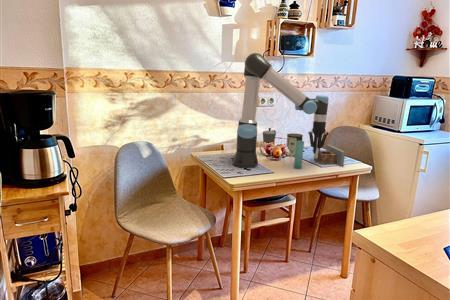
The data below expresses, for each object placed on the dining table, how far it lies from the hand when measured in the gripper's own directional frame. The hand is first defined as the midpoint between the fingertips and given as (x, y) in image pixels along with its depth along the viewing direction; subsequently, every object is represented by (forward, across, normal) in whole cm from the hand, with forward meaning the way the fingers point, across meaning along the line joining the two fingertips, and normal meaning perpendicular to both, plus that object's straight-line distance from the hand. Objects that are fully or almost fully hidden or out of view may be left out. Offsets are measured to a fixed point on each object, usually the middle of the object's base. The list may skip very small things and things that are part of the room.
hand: (315, 157), depth 210 cm
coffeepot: (+3, -24, +21) cm, 32 cm away
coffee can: (+3, -8, +17) cm, 19 cm away
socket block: (+3, +6, 0) cm, 7 cm away
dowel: (+3, -16, -11) cm, 20 cm away
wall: (+3, +13, 0) cm, 13 cm away
